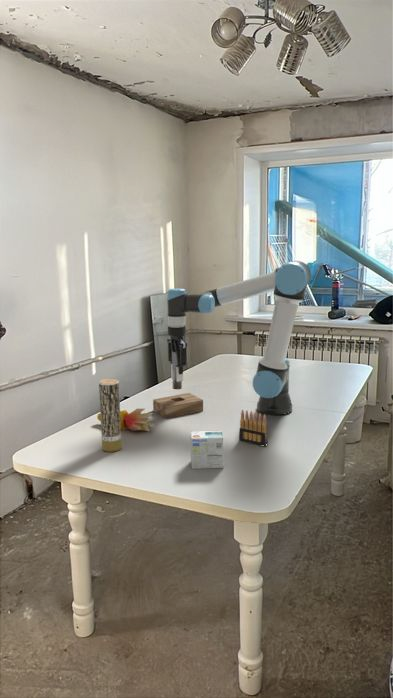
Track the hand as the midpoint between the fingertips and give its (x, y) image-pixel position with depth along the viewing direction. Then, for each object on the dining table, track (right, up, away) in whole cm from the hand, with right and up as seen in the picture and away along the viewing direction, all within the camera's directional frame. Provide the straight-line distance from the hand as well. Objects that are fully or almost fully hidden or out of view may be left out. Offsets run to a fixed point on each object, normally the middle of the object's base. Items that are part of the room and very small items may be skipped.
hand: (177, 379), depth 225 cm
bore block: (0, -14, +3) cm, 14 cm away
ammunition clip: (+29, -21, -33) cm, 49 cm away
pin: (0, -4, +1) cm, 4 cm away
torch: (-20, -18, -16) cm, 32 cm away
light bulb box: (+12, -25, -51) cm, 58 cm away
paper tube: (-22, -23, -37) cm, 49 cm away
